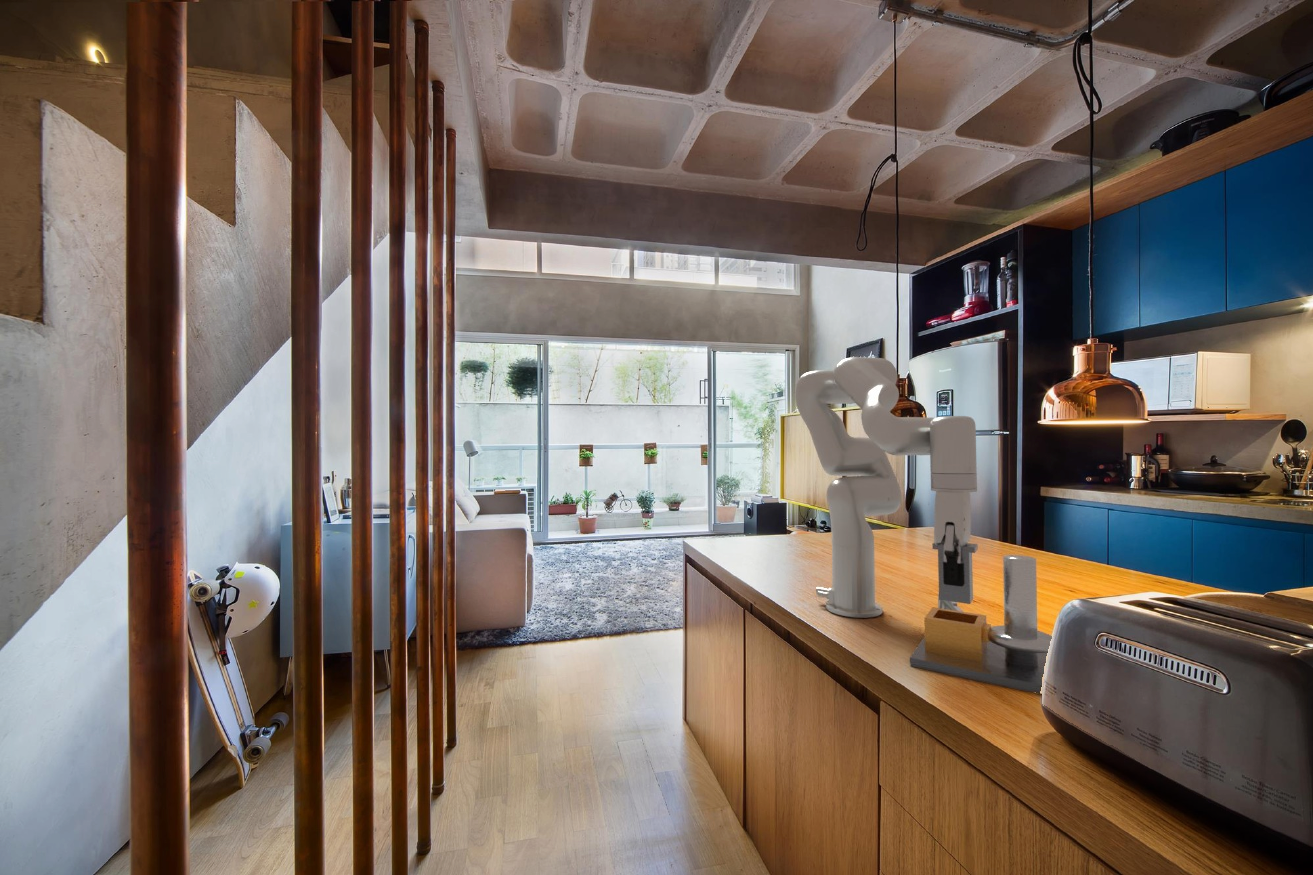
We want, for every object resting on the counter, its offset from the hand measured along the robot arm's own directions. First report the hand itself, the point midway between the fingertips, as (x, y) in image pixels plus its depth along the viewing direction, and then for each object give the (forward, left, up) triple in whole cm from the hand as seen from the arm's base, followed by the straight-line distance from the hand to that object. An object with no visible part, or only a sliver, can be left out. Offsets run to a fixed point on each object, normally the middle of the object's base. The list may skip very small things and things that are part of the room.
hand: (955, 581), depth 101 cm
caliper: (-2, +21, -14) cm, 26 cm away
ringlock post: (+4, 0, -14) cm, 14 cm away
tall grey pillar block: (0, 0, -3) cm, 3 cm away
